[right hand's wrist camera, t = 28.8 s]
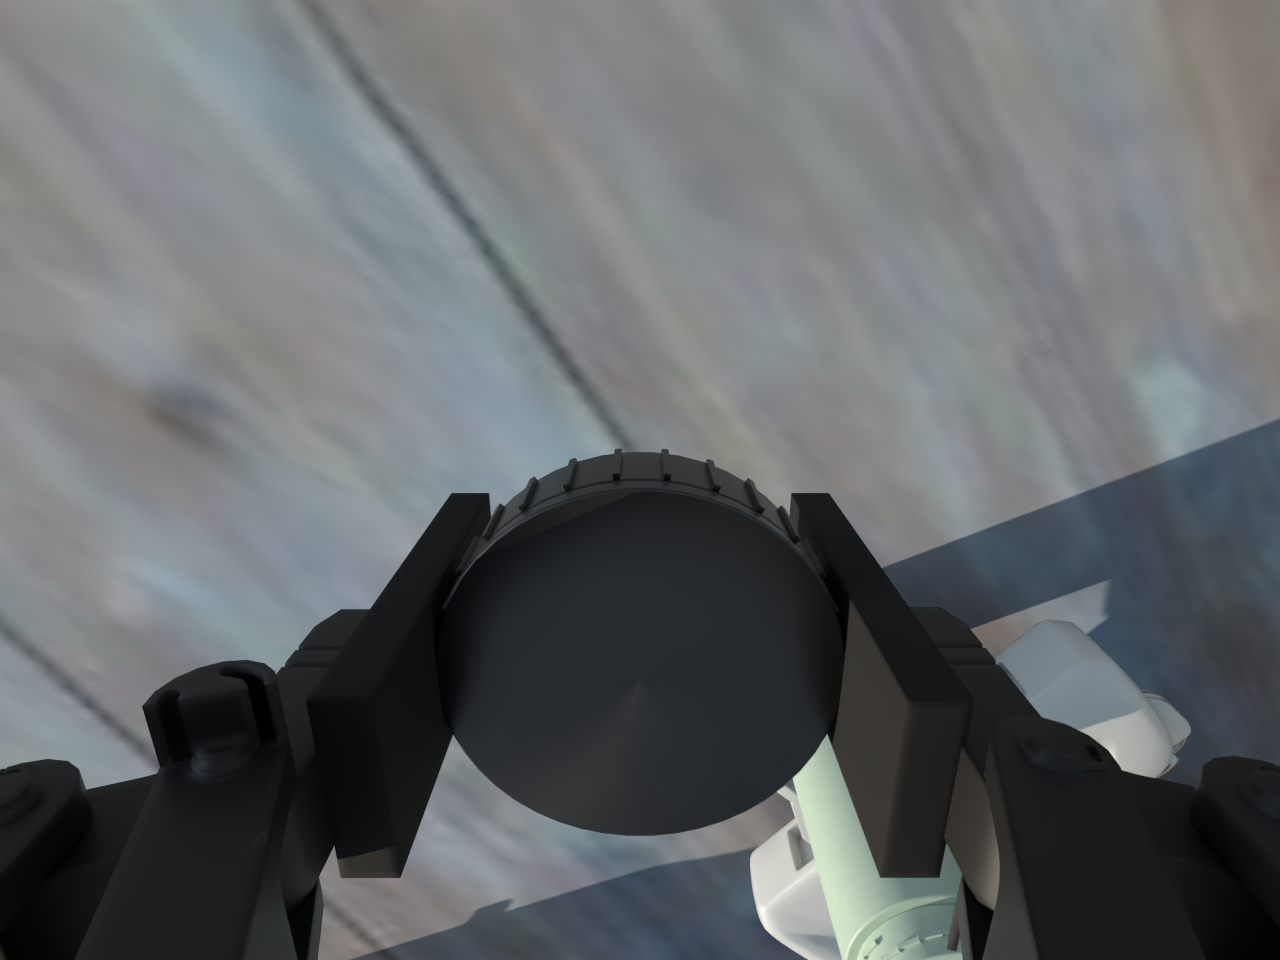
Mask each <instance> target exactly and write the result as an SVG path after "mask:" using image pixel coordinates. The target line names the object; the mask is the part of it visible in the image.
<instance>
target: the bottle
mask: <svg viewBox="0 0 1280 960" xmlns="http://www.w3.org/2000/svg"><path fill="white" fill-rule="evenodd" d="M793 782H794V785H795V789H796V793H797V796H798V800H799V804H800V807H801V811H802V815H803V818H804V822H805V826H806V829H807V833H808V837H809V840H810V844H811V848H812V851H813V855H814V859H815V862H816V866H817V870H818V873H819V877H820V881H821V884H822V888H823V892H824V895H825V899H826V902H827V906H828V910H829V913H830V917H831V921H832V924H833V928H834V932H835V935H836V939H837V943H838V946H839V950H840V954H841V957H842V960H963V958H962V949H961V941H960V938H959V943H958V947H957V952H956V951H952V950H949V949H947V944H948V938H949V931H950V927H951V922H952V917H953V913H954V908H955V903H956V899H957V894H958V889H959V885H960V880H961V875H962V873H961V871H960V869H959V867H958V865H957V863H956V861H955V859H954V857H953V855H952V853H951V851H950V849H949V847H948V845H947V843H946V848H945V853H944V858H943V863H942V868H941V873H940V878H880V876H879V873H878V871H877V868H876V865H875V862H874V860H873V857H872V854H871V852H870V849H869V846H868V843H867V841H866V838H865V835H864V832H863V830H862V827H861V824H860V822H859V819H858V816H857V813H856V811H855V808H854V805H853V803H852V800H851V797H850V794H849V792H848V789H847V786H846V783H845V781H844V778H843V775H842V773H841V770H840V767H839V764H838V762H837V759H836V756H835V754H834V751H833V748H832V745H831V743H830V740H829V737H828V735H826V737H825V738H824V740H823V741H822V743H821V745H820V746H819V748H818V749H817V751H816V753H815V754H814V755H813V756H812V758H811V759H810V760H809V761H808V762H807V764H806V765H805V766H804V767H803V768H802V770H801V771H800V772H799V773H798V774H797V775H795V776H794V777H793Z"/></svg>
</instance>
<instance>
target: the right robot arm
mask: <svg viewBox="0 0 1280 960" xmlns="http://www.w3.org/2000/svg"><path fill="white" fill-rule="evenodd" d="M490 519H491V512H490V499H489V493H452V494H451V495H450V496H449V498H448V499H447V501H446V502H445V503H444V505H443V506H442V508H441V509H440V511H439V512H438V513H437V515H436V516H435V518H434V519H433V521H432V522H431V523H430V525H429V526H428V528H427V529H426V530H425V532H424V533H423V535H422V536H421V538H420V539H419V540H418V542H417V543H416V545H415V546H414V548H413V549H412V550H411V552H410V553H409V555H408V556H407V557H406V559H405V560H404V562H403V563H402V565H401V566H400V567H399V569H398V570H397V572H396V573H395V575H394V576H393V577H392V579H391V580H390V582H389V583H388V584H387V586H386V587H385V589H384V590H383V592H382V593H381V594H380V596H379V597H378V599H377V600H376V602H375V603H374V604H373V606H372V607H371V609H341V610H340V611H338V612H337V613H335V614H333V615H332V616H330V617H329V618H327V619H326V620H324V621H323V622H321V623H319V624H318V625H316V626H315V627H314V628H313V629H312V631H311V632H310V633H309V634H308V636H307V637H306V638H305V639H304V640H303V642H302V643H301V644H300V645H299V650H295V652H294V653H293V654H292V655H291V657H290V658H289V659H288V660H287V661H286V663H285V667H282V668H281V669H280V670H279V671H278V673H277V674H275V671H274V670H272V669H271V668H270V667H269V666H267V665H266V664H265V663H260V662H255V661H250V660H239V661H224V662H220V663H216V664H212V665H208V666H204V667H200V668H198V669H195V670H193V671H191V672H188V673H186V674H184V675H181V676H179V677H177V678H175V679H173V680H172V681H170V682H169V683H167V684H166V685H164V686H163V687H161V688H160V689H158V690H157V691H155V692H154V693H153V694H152V696H151V697H150V698H149V699H148V700H147V701H146V703H145V704H144V705H143V706H142V708H143V711H144V714H145V718H146V721H147V724H148V728H149V731H150V734H151V738H152V741H153V745H154V748H155V751H156V755H157V758H158V761H159V765H160V769H159V771H158V773H157V774H154V775H150V776H147V777H143V778H138V779H134V780H129V781H124V782H120V783H115V784H111V785H106V786H101V787H97V788H92V789H88V790H86V788H85V785H84V783H83V780H82V777H81V774H80V771H79V769H78V768H76V767H75V766H74V765H72V764H71V763H70V762H68V761H62V760H52V759H45V760H39V761H33V762H26V763H21V764H18V765H14V766H10V767H7V768H6V769H1V770H0V960H318V951H319V943H320V934H321V925H322V916H323V907H324V903H323V896H322V889H321V885H320V880H319V875H320V873H321V871H322V869H323V867H324V865H325V863H326V861H327V859H328V857H329V855H330V853H331V851H332V849H333V847H334V845H335V850H336V855H337V860H338V865H339V870H340V875H341V878H400V877H401V874H402V872H403V869H404V866H405V864H406V861H407V858H408V855H409V853H410V850H411V847H412V845H413V842H414V839H415V836H416V834H417V831H418V828H419V825H420V823H421V820H422V817H423V815H424V812H425V809H426V806H427V804H428V801H429V798H430V796H431V793H432V790H433V787H434V785H435V782H436V779H437V776H438V774H439V771H440V768H441V766H442V763H443V760H444V757H445V755H446V752H447V749H448V747H449V744H450V741H451V738H452V736H453V733H452V731H451V728H450V726H449V724H448V722H447V719H446V717H445V715H444V712H443V709H442V705H441V699H440V692H439V684H438V675H437V666H436V656H435V645H436V640H437V634H438V629H439V624H440V620H441V618H442V615H443V614H441V609H442V606H443V604H444V603H445V601H446V599H447V597H448V595H449V593H450V591H451V589H452V587H453V585H454V583H455V581H456V579H457V578H458V575H456V574H455V573H456V571H457V569H458V567H459V565H460V563H461V561H462V560H463V558H464V556H465V554H466V552H467V550H468V548H469V546H470V545H471V543H472V541H473V539H474V537H475V536H476V537H478V538H480V537H481V535H482V534H483V532H484V530H485V529H486V527H487V525H488V523H489V521H490ZM790 519H791V521H792V523H793V525H794V527H795V529H796V531H797V533H798V535H799V537H800V539H801V541H802V540H804V539H807V541H808V542H809V544H810V546H811V548H812V550H813V552H814V554H815V556H816V558H817V559H818V561H819V563H820V565H821V567H822V569H823V571H824V573H825V574H826V577H824V578H822V579H823V580H824V582H825V584H826V586H827V588H828V590H829V592H830V594H831V596H832V598H833V600H834V602H835V604H836V606H837V608H838V610H839V612H840V617H839V620H840V624H841V629H842V634H843V639H844V644H845V661H844V671H843V679H842V688H841V695H840V702H839V706H838V709H837V713H836V715H835V717H834V720H833V722H832V724H831V726H830V729H829V731H828V733H827V735H828V737H829V740H830V743H831V745H832V748H833V751H834V754H835V756H836V759H837V762H838V764H839V767H840V770H841V773H842V775H843V778H844V781H845V783H846V786H847V789H848V792H849V794H850V797H851V800H852V803H853V805H854V808H855V811H856V813H857V816H858V819H859V822H860V824H861V827H862V830H863V832H864V835H865V838H866V841H867V843H868V846H869V849H870V852H871V854H872V857H873V860H874V862H875V865H876V868H877V871H878V873H879V876H880V878H940V873H941V868H942V863H943V858H944V853H945V848H946V843H947V845H948V847H949V849H950V851H951V853H952V855H953V857H954V859H955V861H956V863H957V865H958V867H959V869H960V871H961V873H962V875H961V880H960V885H959V889H958V894H957V899H956V903H955V908H954V913H953V917H952V922H951V927H950V931H949V938H948V944H947V949H949V950H952V951H956V952H957V947H958V943H959V938H960V941H961V949H962V958H963V960H1280V766H1276V765H1275V764H1272V763H1268V762H1264V761H1261V760H1255V759H1249V758H1243V757H1237V756H1230V757H1220V758H1213V759H1212V760H1211V761H1209V762H1208V763H1207V764H1205V765H1204V766H1203V767H1202V770H1201V773H1200V776H1199V779H1198V781H1197V784H1196V787H1193V786H1188V785H1184V784H1179V783H1175V782H1170V781H1165V780H1161V779H1156V778H1152V777H1147V776H1142V775H1138V774H1134V773H1130V772H1127V771H1123V770H1121V767H1120V766H1119V764H1118V763H1117V762H1116V760H1115V759H1114V757H1113V756H1112V755H1111V753H1110V752H1109V751H1108V750H1107V749H1106V748H1105V747H1103V746H1102V745H1101V744H1100V743H1098V742H1097V741H1096V740H1094V739H1093V738H1092V737H1090V736H1089V735H1087V734H1085V733H1083V732H1081V731H1079V730H1077V729H1075V728H1073V727H1071V726H1069V725H1067V724H1064V723H1060V722H1057V721H1053V720H1050V719H1046V718H1043V717H1041V715H1040V714H1039V713H1038V712H1037V711H1036V709H1035V708H1034V707H1033V706H1032V704H1031V703H1030V702H1029V701H1028V699H1027V698H1026V697H1025V696H1024V695H1023V693H1022V692H1021V691H1020V690H1019V688H1018V687H1017V686H1016V685H1015V684H1014V682H1013V681H1012V680H1011V679H1010V677H1009V676H1008V675H1007V674H1006V673H1005V671H1004V670H1003V669H1002V668H1001V666H1000V665H996V660H995V659H994V658H993V657H992V655H991V654H990V653H989V652H988V651H987V649H986V648H982V643H981V642H980V641H979V639H978V638H977V637H976V636H975V635H974V633H973V632H972V631H971V630H970V628H969V627H968V626H967V625H966V624H965V623H963V622H962V621H960V620H959V619H957V618H956V617H954V616H952V615H951V614H949V613H948V612H946V611H945V610H943V609H941V608H940V607H908V605H907V604H906V602H905V601H904V599H903V598H902V597H901V595H900V594H899V592H898V591H897V590H896V588H895V587H894V585H893V584H892V582H891V581H890V580H889V578H888V577H887V575H886V574H885V572H884V571H883V570H882V568H881V567H880V565H879V564H878V563H877V561H876V560H875V558H874V557H873V555H872V554H871V553H870V551H869V550H868V548H867V547H866V545H865V544H864V543H863V541H862V540H861V538H860V537H859V536H858V534H857V533H856V531H855V530H854V528H853V527H852V526H851V524H850V523H849V521H848V520H847V518H846V517H845V516H844V514H843V513H842V511H841V510H840V509H839V507H838V506H837V504H836V503H835V501H834V500H833V499H832V497H831V496H830V494H829V493H791V505H790Z"/></svg>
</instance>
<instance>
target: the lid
mask: <svg viewBox="0 0 1280 960" xmlns="http://www.w3.org/2000/svg"><path fill="white" fill-rule="evenodd" d="M455 574H456V575H458V578H457V579H456V581H455V583H454V585H453V587H452V589H451V591H450V593H449V595H448V597H447V599H446V601H445V603H444V604H443V606H442V609H441V614H443V615H442V618H441V620H440V624H439V629H438V634H437V640H436V645H435V656H436V666H437V675H438V684H439V692H440V699H441V705H442V709H443V712H444V715H445V717H446V719H447V722H448V724H449V726H450V728H451V731H452V733H453V735H454V736H455V738H456V739H457V741H458V743H459V744H460V746H461V748H462V749H463V751H464V752H465V754H466V755H467V756H468V757H469V758H470V760H471V761H472V762H473V763H474V765H475V766H476V767H477V768H478V769H479V771H481V772H482V773H483V774H484V775H485V776H486V777H487V778H488V779H489V780H490V781H491V782H492V783H493V784H494V785H495V786H497V787H498V788H499V789H501V790H502V791H503V792H505V793H506V794H507V795H509V796H510V797H511V798H513V799H514V800H516V801H518V802H519V803H521V804H523V805H524V806H526V807H528V808H530V809H531V810H533V811H535V812H537V813H539V814H542V815H544V816H546V817H549V818H551V819H553V820H556V821H558V822H561V823H564V824H568V825H571V826H574V827H577V828H580V829H585V830H590V831H595V832H600V833H606V834H616V835H626V836H654V835H664V834H674V833H680V832H685V831H690V830H695V829H700V828H703V827H706V826H709V825H713V824H716V823H719V822H722V821H725V820H727V819H729V818H732V817H734V816H736V815H739V814H741V813H743V812H745V811H747V810H749V809H751V808H752V807H754V806H756V805H758V804H759V803H761V802H763V801H765V800H766V799H767V798H769V797H770V796H771V795H773V794H774V793H776V792H777V791H778V790H780V789H781V788H782V787H784V786H785V785H786V784H787V783H788V782H789V781H790V780H791V779H792V778H793V777H794V776H795V775H797V774H798V773H799V772H800V771H801V770H802V768H803V767H804V766H805V765H806V764H807V762H808V761H809V760H810V759H811V758H812V756H813V755H814V754H815V753H816V751H817V749H818V748H819V746H820V745H821V743H822V741H823V740H824V738H825V737H826V735H827V733H828V731H829V729H830V726H831V724H832V722H833V720H834V717H835V715H836V713H837V709H838V706H839V702H840V695H841V688H842V679H843V671H844V661H845V644H844V639H843V634H842V629H841V624H840V620H839V617H840V612H839V610H838V608H837V606H836V604H835V602H834V600H833V598H832V596H831V594H830V592H829V590H828V588H827V586H826V584H825V582H824V580H823V579H822V578H824V577H826V574H825V573H824V571H823V569H822V567H821V565H820V563H819V561H818V559H817V558H816V556H815V554H814V552H813V550H812V548H811V546H810V544H809V542H808V541H807V539H804V540H802V541H801V539H800V537H799V535H798V533H797V531H796V529H795V527H794V525H793V523H792V521H791V519H790V517H789V515H788V513H787V511H786V509H785V508H784V507H783V506H780V507H779V508H777V507H776V506H775V505H774V504H773V503H772V502H771V501H770V500H769V499H768V498H767V497H765V496H764V495H763V494H761V493H760V492H759V491H757V489H756V487H755V484H754V482H753V481H752V480H750V479H749V478H748V479H747V480H746V482H745V481H743V480H741V479H739V478H738V477H736V476H734V475H732V474H730V473H729V472H727V471H725V470H722V469H720V468H717V467H715V465H714V462H713V461H712V460H709V459H707V460H706V463H705V462H701V461H698V460H694V459H690V458H686V457H682V456H678V455H670V454H669V451H668V450H667V449H662V450H661V453H654V452H626V453H622V449H615V452H614V454H610V455H602V456H598V457H594V458H590V459H586V460H583V461H579V462H577V459H576V458H574V459H571V460H570V461H569V464H568V466H566V467H563V468H561V469H558V470H556V471H553V472H552V473H550V474H548V475H546V476H544V477H543V478H541V479H539V480H537V479H536V478H535V477H533V478H531V479H530V480H529V482H528V484H527V487H526V488H525V489H524V490H523V491H521V492H520V493H519V494H517V495H516V496H515V497H513V498H512V499H511V500H510V501H509V502H508V503H507V504H506V505H505V506H503V505H502V504H499V505H498V506H497V507H496V509H495V511H494V513H493V515H492V517H491V519H490V521H489V523H488V525H487V527H486V529H485V530H484V532H483V534H482V535H481V537H480V538H478V537H476V536H475V537H474V539H473V541H472V543H471V545H470V546H469V548H468V550H467V552H466V554H465V556H464V558H463V560H462V561H461V563H460V565H459V567H458V569H457V571H456V573H455Z"/></svg>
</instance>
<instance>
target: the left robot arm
mask: <svg viewBox="0 0 1280 960" xmlns="http://www.w3.org/2000/svg"><path fill="white" fill-rule="evenodd" d="M994 659H995V660H996V665H1000V666H1001V668H1002V669H1003V670H1004V671H1005V673H1006V674H1007V675H1008V676H1009V677H1010V679H1011V680H1012V681H1013V682H1014V684H1015V685H1016V686H1017V687H1018V688H1019V690H1020V691H1021V692H1022V693H1023V695H1024V696H1025V697H1026V698H1027V699H1028V701H1029V702H1030V703H1031V704H1032V706H1033V707H1034V708H1035V709H1036V711H1037V712H1038V713H1039V714H1040V715H1041V717H1043V718H1046V719H1050V720H1053V721H1057V722H1060V723H1064V724H1067V725H1069V726H1071V727H1073V728H1075V729H1077V730H1079V731H1081V732H1083V733H1085V734H1087V735H1089V736H1090V737H1092V738H1093V739H1094V740H1096V741H1097V742H1098V743H1100V744H1101V745H1102V746H1103V747H1105V748H1106V749H1107V750H1108V751H1109V752H1110V753H1111V755H1112V756H1113V757H1114V759H1115V760H1116V762H1117V763H1118V764H1119V766H1120V767H1121V770H1123V771H1127V772H1130V773H1134V774H1138V775H1142V776H1147V777H1152V778H1159V777H1161V776H1163V775H1164V774H1166V773H1167V772H1169V771H1170V770H1171V769H1172V768H1173V767H1174V766H1175V765H1176V764H1177V763H1178V762H1179V760H1180V759H1179V757H1178V756H1177V755H1176V753H1177V752H1178V751H1179V750H1180V749H1181V748H1182V747H1183V745H1184V743H1185V742H1186V740H1187V737H1188V736H1189V735H1190V733H1191V727H1190V725H1189V723H1188V721H1187V719H1186V717H1185V716H1184V714H1183V713H1182V712H1181V711H1179V710H1178V709H1177V708H1176V707H1175V706H1174V705H1173V704H1172V703H1171V702H1170V701H1169V700H1168V699H1167V698H1166V697H1164V696H1162V695H1160V694H1158V693H1155V692H1153V691H1150V690H1144V689H1139V687H1138V686H1137V685H1136V684H1135V683H1134V682H1133V680H1132V679H1131V678H1130V677H1129V676H1128V675H1127V674H1126V673H1125V672H1124V671H1123V669H1122V668H1121V667H1120V666H1119V665H1118V664H1117V663H1116V662H1115V661H1114V660H1113V659H1111V658H1110V657H1109V656H1108V655H1107V654H1106V653H1105V652H1104V651H1103V650H1102V649H1101V648H1100V647H1099V646H1098V645H1097V644H1096V643H1095V642H1094V641H1093V640H1092V639H1091V638H1090V637H1089V636H1088V635H1086V634H1085V633H1084V632H1083V631H1082V630H1081V629H1080V628H1079V627H1077V626H1076V625H1075V624H1074V623H1072V622H1069V621H1055V620H1044V621H1041V622H1039V623H1038V624H1036V625H1035V626H1033V627H1032V628H1031V629H1030V630H1028V631H1027V632H1026V633H1025V634H1023V635H1022V636H1021V637H1020V638H1018V639H1017V640H1016V641H1015V642H1013V643H1012V644H1011V645H1010V646H1008V647H1007V648H1006V649H1005V650H1004V651H1002V652H1001V653H1000V654H999V655H997V656H996V657H995V658H994ZM777 792H778V793H780V794H781V795H782V796H784V797H785V798H786V799H788V800H789V801H790V802H791V806H792V809H793V812H794V815H795V818H794V819H793V820H792V821H790V822H789V823H788V824H787V825H785V826H784V827H783V828H782V829H780V830H779V831H778V832H777V833H775V834H774V835H773V836H772V837H770V838H769V839H768V840H767V841H765V842H764V843H763V844H762V845H760V846H759V847H758V848H756V849H755V850H754V851H753V853H752V854H751V858H750V869H751V881H752V889H753V895H754V899H755V904H756V909H757V912H758V915H759V918H760V921H761V923H762V925H763V926H764V928H765V929H766V930H767V931H768V932H769V933H770V934H771V935H772V936H773V937H775V938H776V939H777V940H778V941H780V942H781V943H783V944H784V945H786V946H787V947H789V948H790V949H792V950H793V951H795V952H796V953H798V954H800V955H801V956H803V957H804V958H806V959H808V960H842V957H841V954H840V950H839V946H838V943H837V939H836V935H835V932H834V928H833V924H832V921H831V917H830V913H829V910H828V906H827V902H826V899H825V895H824V892H823V888H822V884H821V881H820V877H819V873H818V870H817V866H816V862H815V859H814V855H813V851H812V848H811V844H810V840H809V837H808V833H807V829H806V826H805V822H804V818H803V815H802V811H801V807H800V804H799V800H798V796H797V793H796V789H795V785H794V782H793V778H792V779H791V780H790V781H789V782H788V783H787V784H786V785H785V786H784V787H782V788H781V789H780V790H778V791H777Z"/></svg>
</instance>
